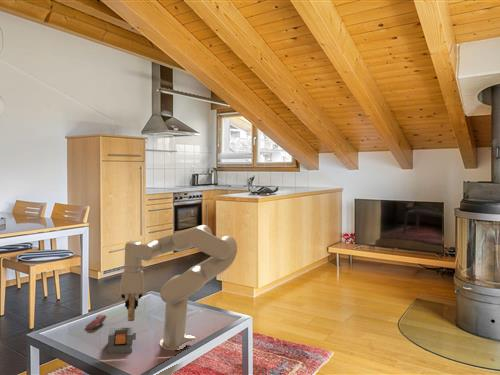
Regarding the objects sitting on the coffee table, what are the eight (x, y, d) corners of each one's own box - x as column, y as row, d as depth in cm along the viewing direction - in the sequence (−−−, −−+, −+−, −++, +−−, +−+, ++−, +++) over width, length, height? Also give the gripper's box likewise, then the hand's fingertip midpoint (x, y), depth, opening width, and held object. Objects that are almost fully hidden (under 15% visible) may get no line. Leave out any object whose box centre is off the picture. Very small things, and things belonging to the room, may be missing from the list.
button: (125, 339, 172) (126, 333, 172) (125, 343, 168) (125, 338, 168) (115, 339, 171) (116, 334, 171) (115, 344, 167) (115, 338, 167)
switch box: (132, 342, 176) (133, 327, 176) (131, 353, 167) (132, 337, 166) (108, 343, 173) (109, 328, 173) (106, 354, 164) (107, 338, 163)
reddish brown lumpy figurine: (91, 334, 184) (98, 322, 183) (84, 328, 185) (90, 316, 184) (103, 326, 194) (109, 314, 193) (96, 320, 195) (102, 309, 194)
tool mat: (135, 334, 185) (135, 332, 185) (135, 340, 178) (135, 339, 178) (120, 334, 183) (120, 333, 183) (119, 341, 176) (119, 340, 176)
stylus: (134, 318, 182) (135, 288, 181) (134, 321, 179) (135, 290, 178) (127, 319, 181) (128, 289, 180) (127, 321, 178) (128, 291, 177)
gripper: (151, 266, 184) (149, 304, 185) (114, 267, 180) (113, 306, 181) (151, 270, 177) (150, 310, 178) (113, 271, 173) (112, 312, 174)
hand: (131, 308), depth 180 cm, fingers closed on stylus, 3 cm apart
